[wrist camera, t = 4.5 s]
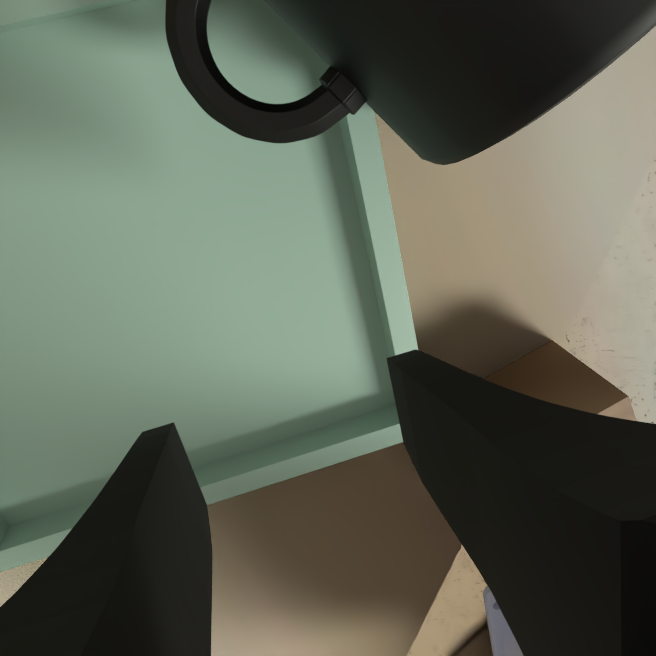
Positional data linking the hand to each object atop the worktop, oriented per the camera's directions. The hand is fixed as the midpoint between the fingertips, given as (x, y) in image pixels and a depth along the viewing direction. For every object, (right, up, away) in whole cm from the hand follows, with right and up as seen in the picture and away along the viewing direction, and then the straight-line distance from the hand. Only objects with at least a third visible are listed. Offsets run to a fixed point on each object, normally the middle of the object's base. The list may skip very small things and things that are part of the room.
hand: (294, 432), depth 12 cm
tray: (-5, +4, +7) cm, 10 cm away
